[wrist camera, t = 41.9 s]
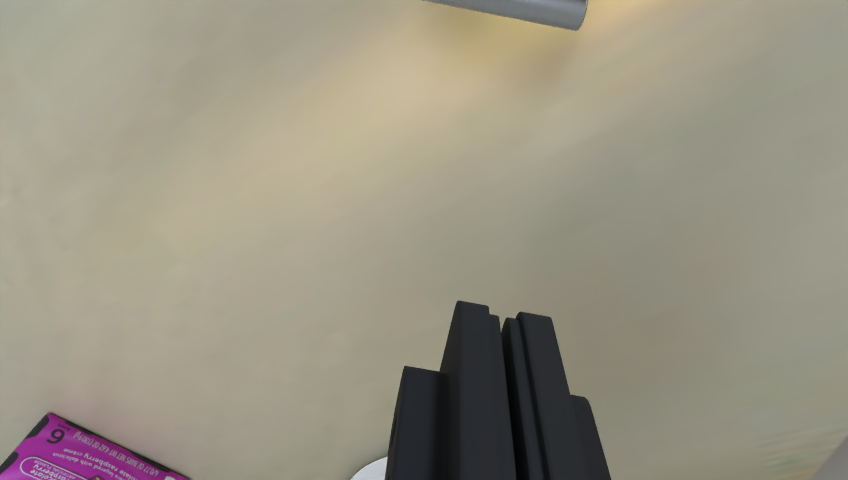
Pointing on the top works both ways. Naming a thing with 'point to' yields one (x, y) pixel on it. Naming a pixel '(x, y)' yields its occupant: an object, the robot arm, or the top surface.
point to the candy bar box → (76, 457)
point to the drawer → (529, 10)
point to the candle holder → (372, 471)
